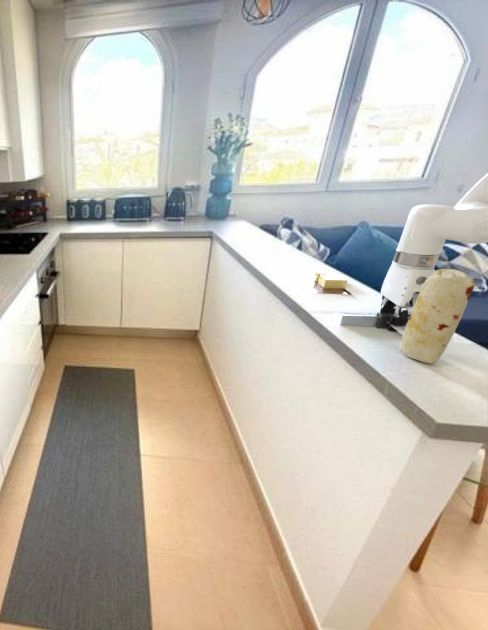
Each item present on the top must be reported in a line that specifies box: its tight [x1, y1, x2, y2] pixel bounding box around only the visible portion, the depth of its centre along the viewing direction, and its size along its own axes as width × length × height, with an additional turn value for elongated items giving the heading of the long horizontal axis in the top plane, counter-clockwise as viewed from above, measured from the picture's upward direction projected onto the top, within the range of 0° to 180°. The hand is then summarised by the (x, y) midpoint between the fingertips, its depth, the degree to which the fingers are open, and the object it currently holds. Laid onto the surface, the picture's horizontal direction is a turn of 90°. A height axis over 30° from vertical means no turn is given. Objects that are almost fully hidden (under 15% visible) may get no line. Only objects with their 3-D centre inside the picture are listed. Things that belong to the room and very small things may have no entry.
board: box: [291, 275, 352, 295], centre depth 115 cm, size 14×16×2 cm
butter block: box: [318, 274, 348, 289], centre depth 112 cm, size 6×5×3 cm
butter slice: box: [314, 271, 340, 282], centre depth 117 cm, size 6×2×3 cm, turn 76°
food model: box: [399, 268, 476, 364], centre depth 74 cm, size 10×7×20 cm
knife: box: [339, 312, 409, 330], centre depth 90 cm, size 14×2×4 cm, turn 76°
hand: (389, 325), depth 90 cm, fingers open, 4 cm apart
